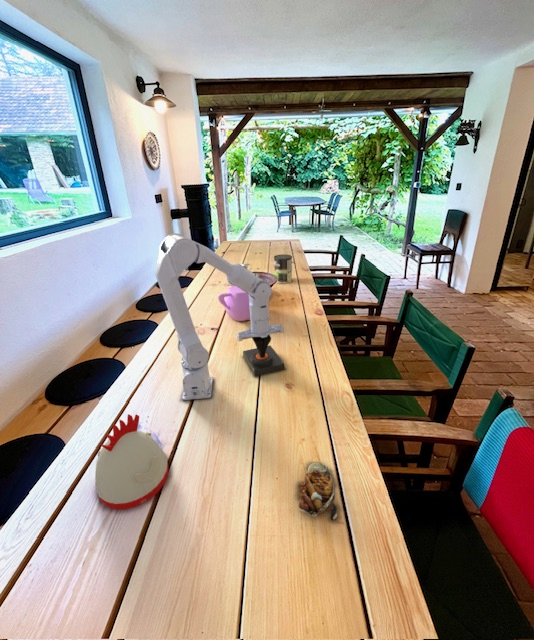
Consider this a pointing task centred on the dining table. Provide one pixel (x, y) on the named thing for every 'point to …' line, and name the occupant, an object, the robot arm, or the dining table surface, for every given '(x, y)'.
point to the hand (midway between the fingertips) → (261, 355)
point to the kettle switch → (263, 362)
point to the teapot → (236, 303)
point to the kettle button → (262, 357)
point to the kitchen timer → (129, 467)
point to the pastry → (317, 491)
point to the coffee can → (283, 268)
